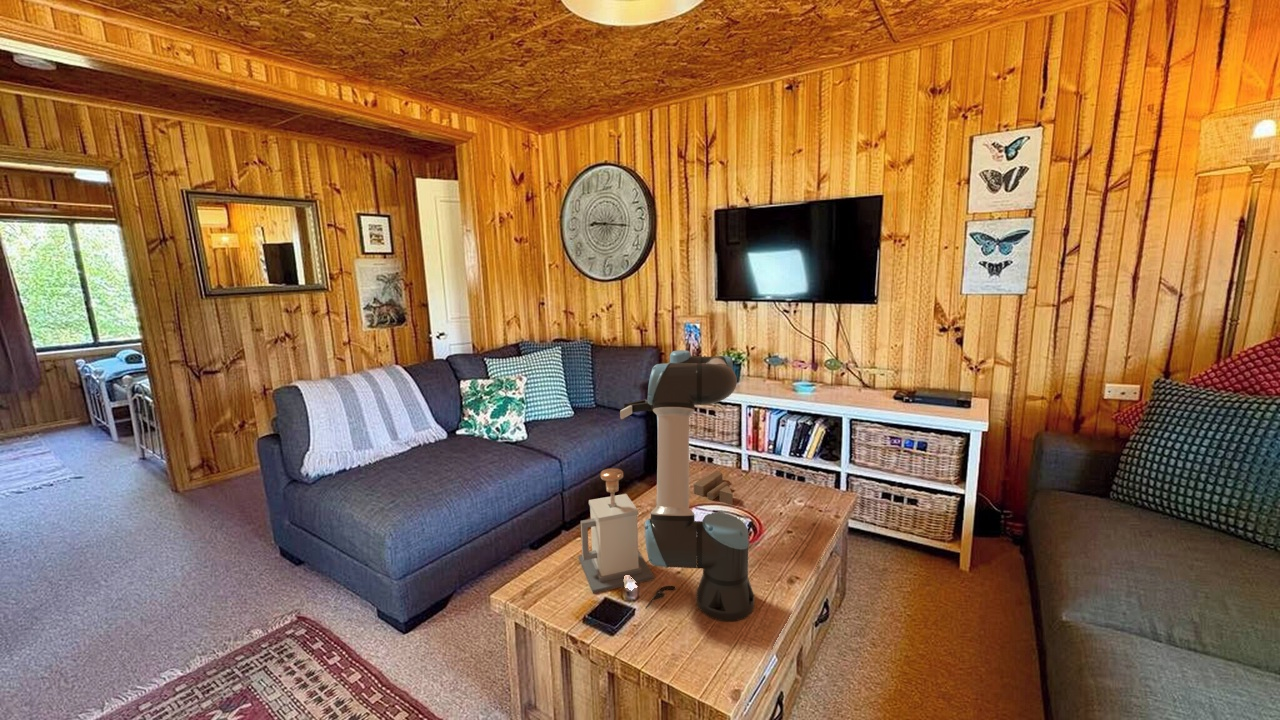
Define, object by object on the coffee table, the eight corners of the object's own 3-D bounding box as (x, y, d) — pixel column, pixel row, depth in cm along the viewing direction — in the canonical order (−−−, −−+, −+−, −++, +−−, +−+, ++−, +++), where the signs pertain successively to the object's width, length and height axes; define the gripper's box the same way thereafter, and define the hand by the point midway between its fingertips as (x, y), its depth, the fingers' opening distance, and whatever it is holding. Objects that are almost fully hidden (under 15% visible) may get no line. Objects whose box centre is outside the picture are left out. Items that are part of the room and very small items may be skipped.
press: (641, 572, 147) (640, 511, 144) (588, 584, 142) (585, 521, 139) (628, 550, 159) (626, 492, 155) (579, 560, 154) (576, 501, 150)
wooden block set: (692, 481, 198) (715, 467, 211) (692, 495, 199) (715, 480, 212) (731, 493, 187) (753, 476, 201) (731, 507, 188) (753, 490, 202)
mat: (654, 579, 146) (654, 576, 146) (592, 593, 140) (592, 590, 140) (634, 547, 163) (634, 544, 162) (578, 558, 157) (578, 555, 157)
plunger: (628, 549, 148) (625, 475, 144) (606, 553, 146) (603, 478, 142) (621, 538, 154) (619, 467, 150) (601, 542, 152) (598, 470, 148)
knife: (663, 584, 144) (663, 582, 144) (676, 588, 142) (676, 586, 142) (639, 615, 132) (639, 613, 132) (653, 620, 130) (653, 618, 130)
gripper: (703, 415, 171) (677, 434, 152) (637, 407, 182) (606, 424, 164) (703, 393, 169) (677, 410, 151) (637, 386, 181) (605, 401, 163)
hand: (640, 417), depth 157 cm, fingers open, 13 cm apart
